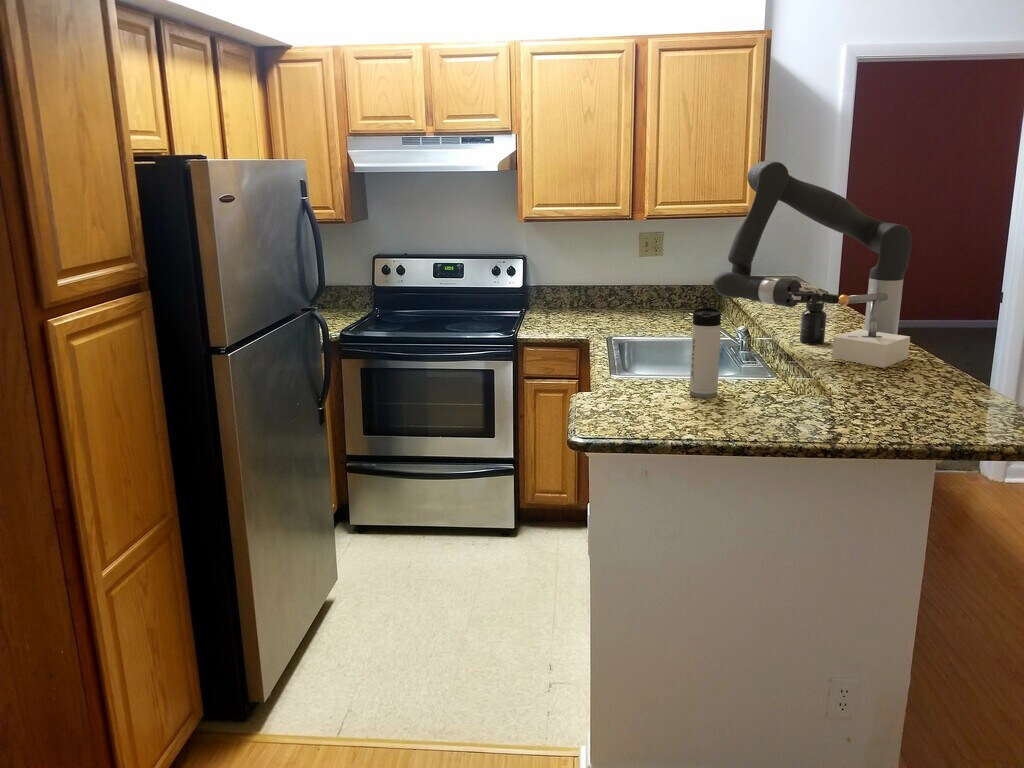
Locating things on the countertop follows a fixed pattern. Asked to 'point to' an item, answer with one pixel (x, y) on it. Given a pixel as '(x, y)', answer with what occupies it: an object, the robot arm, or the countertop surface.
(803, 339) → the supplement bottle
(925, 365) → the countertop surface
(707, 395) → the travel mug
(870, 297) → the T-key
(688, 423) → the countertop surface
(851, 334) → the block
